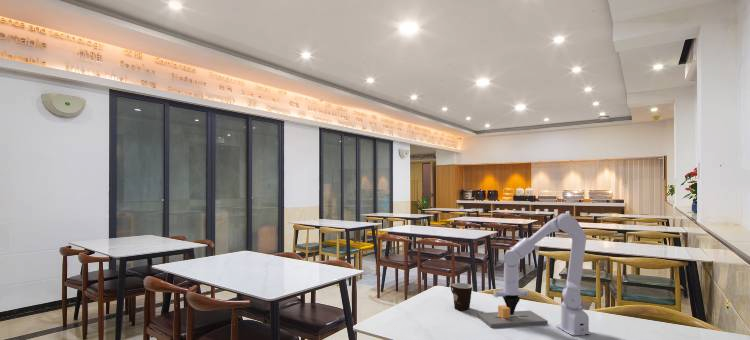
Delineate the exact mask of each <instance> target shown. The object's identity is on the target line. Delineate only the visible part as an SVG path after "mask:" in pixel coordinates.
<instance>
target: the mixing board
mask: <svg viewBox="0 0 750 340" xmlns="http://www.w3.org/2000/svg"><path fill="white" fill-rule="evenodd" d="M476 317H477V318H479V320H480V321H481V322H483V323H484V324H486V326H488V327H489V328H492V329H494V328H511V327H514V328H515V327H526V326H527V327H528V326H531V327H532V326H546V325H545V324H549V323H548V322H549V321H548V320H547V319H545V318H543V317H542V316H541V315H539V314H537V313H536V312H534V311H532V310H517V311H516V310H515V311H514V315H510V318H502V317H500V316H499V315H498V311H495V312H494V311H492V312H490V311H489V312H478V313H477V316H476Z"/></svg>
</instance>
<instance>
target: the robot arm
mask: <svg viewBox="0 0 750 340" xmlns="http://www.w3.org/2000/svg"><path fill="white" fill-rule="evenodd" d="M560 230H561V231H563V232H564V233H566V234H567V235H568V236H569V238H571V247H570V253H569V254H570V256H569V261H568V271H567V277H566V281H565V286H564V287H563V289H562V290H561V294H562V302H561V304H560V308H561V309H560V324H555V326H556V328H559V329H560V330H562V331H563V330H564V332H565V333H567V334H568V333H569V335H570V334H571V335H570V336H585V334H589V335H591V334H592V333H591V332H590V331H589V329H590V328H589V327H590V325H589V324H590V323H589V322H590V321H589V320H590V319H589V315H588V314H587V312H585V310H584V309H583V305H582V304H583V300H582V296H581V281H582V276H583V274H582V273H583V266H584V261H585V259H584V258H585V251H586V243H587V235H586V234H585V231H584V230H583V227H582V226H581V225H580V223H579V221H578V220H577V219H576V218H575V217H573V215H571V214H570V213H568V212H562V213H560V214H558V215H557V216H556V217H554V218H552V219H550V220H549V221H548V222H546V223H545V224H544V225H543V226H541V227H540V229H538V230H537V231H536V232H534V234H532V235H531V236H530V237H523V238H520V239H519V240H518V242H516V243H515V244H514V245H513V246H510V247H509V249H508V250H506V251H505V253H504V255H503V262H504V263H503V267H504V268H503V289H500V290H493V291H492V293H493V294H492V296H493V297H494V298H498V297H501V298H502V299H503V301H504V303H505V306H507V307H508V308H510V315H514V311H516V308H517V305H518V303H520V300H521V299H520V298H521V297H523V296H524V297H529V294H530V291H528V290H527V289H519V288H520V287H519V285H520V284H519V280H520V276H519V274H520V270H519V263H520V260H523V259H524V258H525V257H526V256H527V255H529V254H530V253H531V252H532V251H534V250H535V248H536V244H537V243H539V242H540V241H542V240H543V239H544V238H546V237H547V236H548V235H549V234H552V233H559V232H560ZM519 296H520V297H519Z"/></svg>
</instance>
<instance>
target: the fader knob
mask: <svg viewBox="0 0 750 340" xmlns="http://www.w3.org/2000/svg"><path fill="white" fill-rule="evenodd" d="M497 312H498V315H499V316H500V317H502V318H510V308H508V307H507V306H506V304H503V305H502V304H501V305H500V304H499V305H497Z"/></svg>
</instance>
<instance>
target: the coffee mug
mask: <svg viewBox="0 0 750 340" xmlns="http://www.w3.org/2000/svg"><path fill="white" fill-rule="evenodd" d="M450 287H451V288H450V291H451V294H452V295H453V305H454V306H453V307H454V310H456V311H460V312H468V311H469V310H470V307H471V299H472V291H473V285H472V284H469V283H465V282H455V283H453V284H451V286H450Z"/></svg>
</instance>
